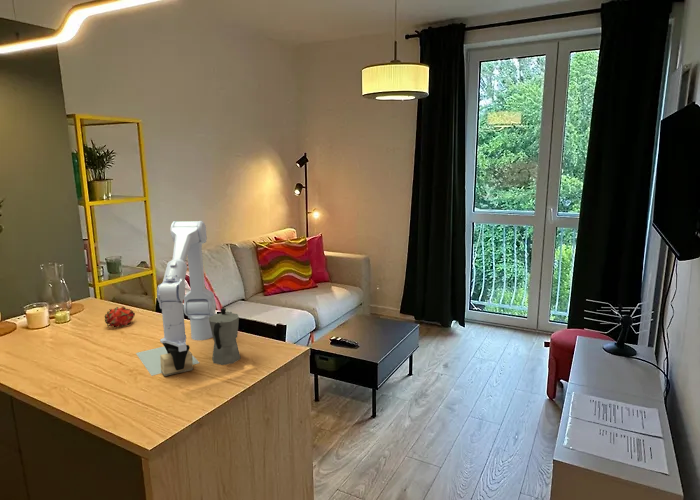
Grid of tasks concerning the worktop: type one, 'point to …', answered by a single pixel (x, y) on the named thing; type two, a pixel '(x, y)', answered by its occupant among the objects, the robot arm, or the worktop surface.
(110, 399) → the worktop surface
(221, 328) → the coffeepot
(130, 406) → the worktop surface
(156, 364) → the board
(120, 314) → the dragon fruit
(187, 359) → the block
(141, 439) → the worktop surface
